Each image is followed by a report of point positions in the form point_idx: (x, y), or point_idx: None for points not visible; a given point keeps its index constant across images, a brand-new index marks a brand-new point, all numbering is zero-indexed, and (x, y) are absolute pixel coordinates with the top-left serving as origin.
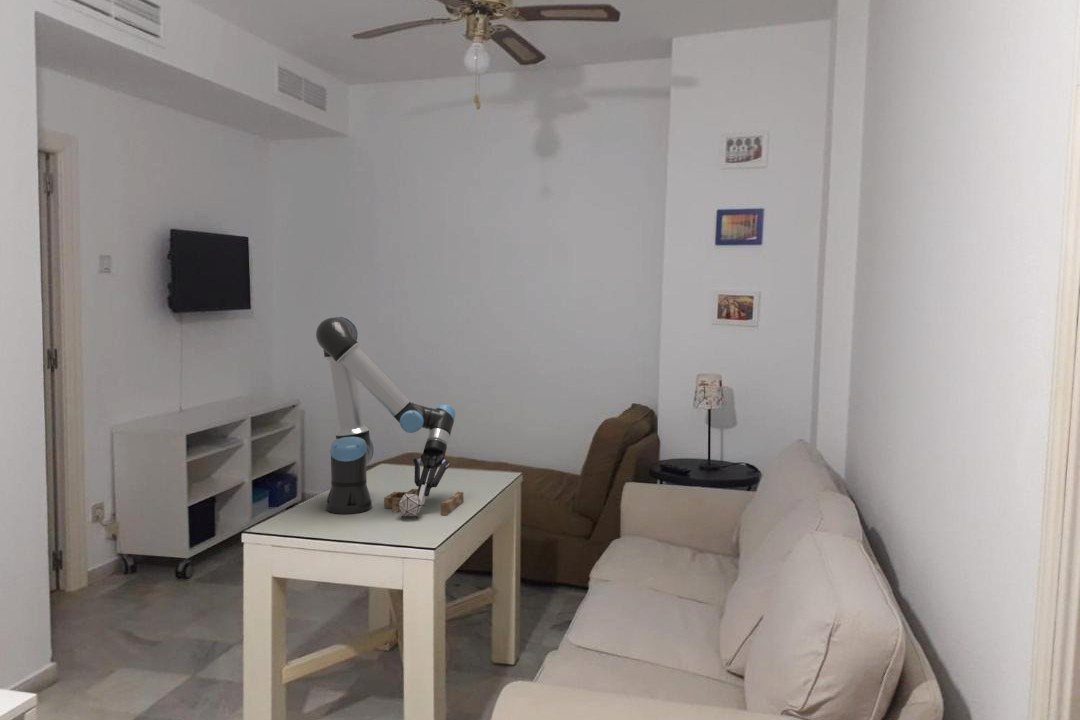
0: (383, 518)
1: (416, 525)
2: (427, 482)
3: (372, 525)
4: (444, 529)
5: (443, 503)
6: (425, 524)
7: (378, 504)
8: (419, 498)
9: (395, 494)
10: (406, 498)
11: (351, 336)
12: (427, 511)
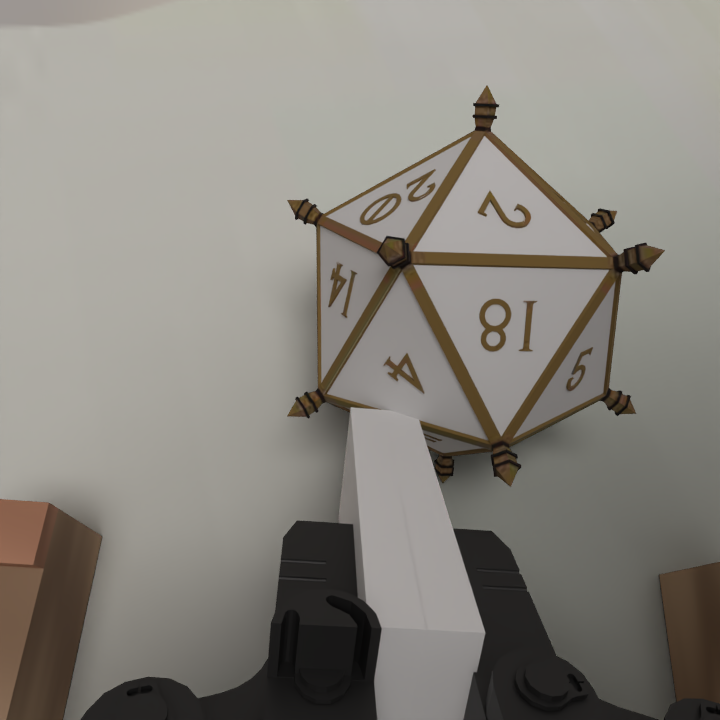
0: (667, 315)
1: (284, 157)
2: (327, 624)
3: (639, 129)
4: (6, 82)
5: (5, 502)
6: (209, 189)
7: None
8: (362, 314)
9: None
10: (502, 145)
11: None
12: None
